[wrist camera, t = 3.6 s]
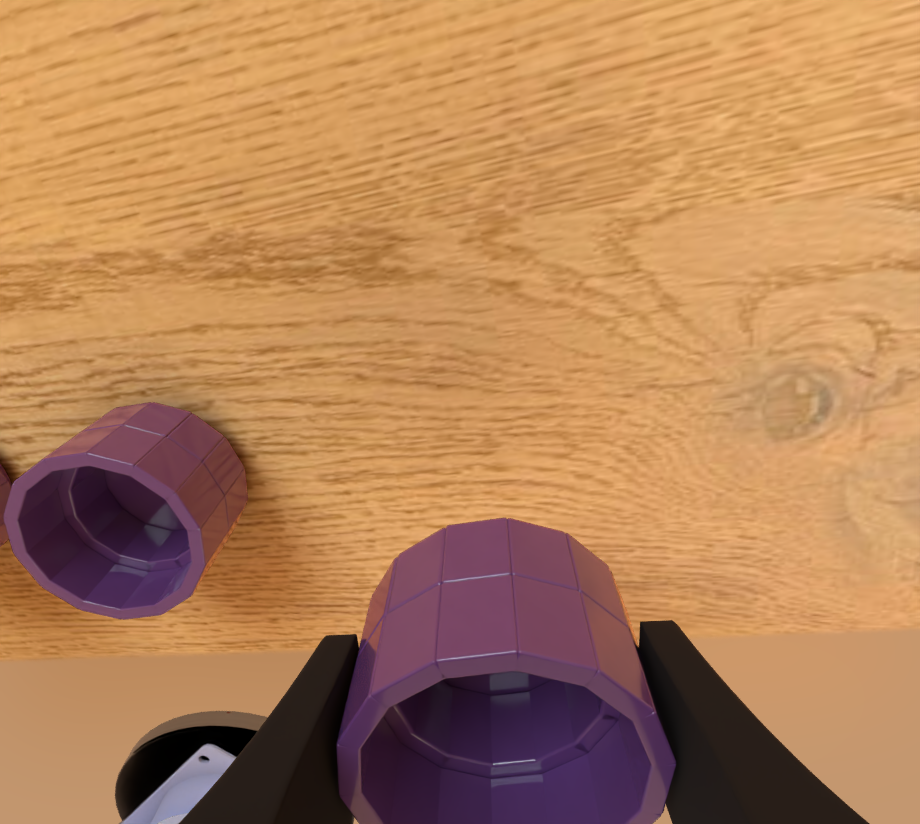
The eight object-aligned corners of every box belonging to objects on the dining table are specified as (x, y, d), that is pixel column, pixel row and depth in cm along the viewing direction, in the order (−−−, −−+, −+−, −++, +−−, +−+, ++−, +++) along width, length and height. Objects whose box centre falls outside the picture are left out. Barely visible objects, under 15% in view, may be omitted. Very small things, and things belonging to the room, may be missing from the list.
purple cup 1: (199, 565, 22) (143, 649, 18) (60, 475, 20) (-30, 545, 17) (285, 468, 20) (243, 538, 16) (140, 362, 19) (59, 413, 15)
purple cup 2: (503, 731, 15) (512, 921, 11) (324, 613, 14) (268, 783, 10) (671, 605, 13) (746, 778, 10) (486, 455, 12) (490, 590, 8)
